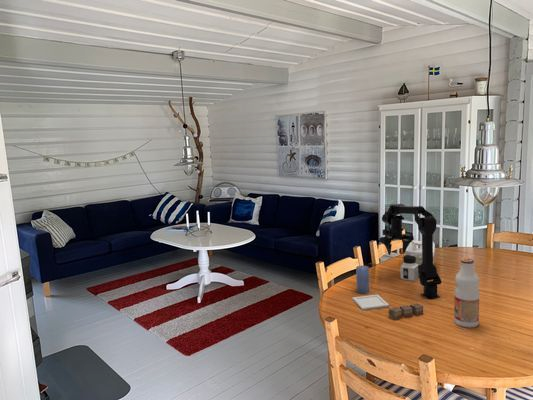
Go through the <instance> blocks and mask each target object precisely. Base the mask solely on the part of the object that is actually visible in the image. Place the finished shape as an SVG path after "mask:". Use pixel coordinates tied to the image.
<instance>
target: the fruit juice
mask: <svg viewBox="0 0 533 400" xmlns="http://www.w3.org/2000/svg"><path fill="white" fill-rule="evenodd" d="M460 264H461V265H460V269H459V271H458V272H457V273H456V275H455V277H454V282H455V288H454V302H453V303H454V306H453V307H454V309H453V311H454V313H453V315H454V317H453V318H454V319H453V320H454V323H455V324H457V325H458V326H460V327H462V328H463V327H464V328H469V329H470V328H476V327H478V325H479V323H480V290H479V284H480V278H479V275H478V274H477V273H476V271H475V269H474V264H475V260H474V258H469V257H462V258H461V259H460Z"/></svg>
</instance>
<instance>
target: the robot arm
mask: <svg viewBox="0 0 533 400" xmlns="http://www.w3.org/2000/svg"><path fill="white" fill-rule="evenodd" d="M404 214H407V215H410V214H411V215H413V216H414V222H415V223H416V224H417V229H418V231H419V232H420V234H421V241H422V245H421V249H422V264H421V265H418V273H419V277H418V279H419V280H418V281H419V283H420V285H421V286H422V287H423V293H421V294H420V295H421V296H423V297H424V298H426V299H429V300H433V299H437V298H441V296H440V295H439V294H438V285H441V284H442V279H441V277H440V275H439V273H438V270H437V267H436V265H435V263H434V264H433V242H434V239H433V237H434V236H433V235H434V233H435V232H436V230H437V225H438V224H437V223H438V221H437V219H436V218H435V217H434V215H433V213H431V212H430V211H428V210H426V209H425V207H424V206H422V205H419V206H418V205H416V206H414V205H411V206H410V205H405V204H403V203H397V204H390V205H389V208H388V209H387V211H385V212H384V214H383V215H382V217H381V221H382V222H383V224H384V223H385V224H387V225H390V226H391V227H389V230H388V229H387V228H386V229H382V235H383V236H380V238H379V240H378V241H379V243H380V244H381V245H382V244H383V245H384V247H385V249H386V251H387V253H388V255H389V256H391V253H392V246H393V245H392V242H395V241H401V242H402V253H404V254H405V251H406V249H407V247H408V245H409V244H410V242H412V241H415V237H414V235H413V234H410V233H403V231H404V228H403V220H405V217H404V216H403V215H404ZM419 215H422V216H423V217H420V216H419Z"/></svg>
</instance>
